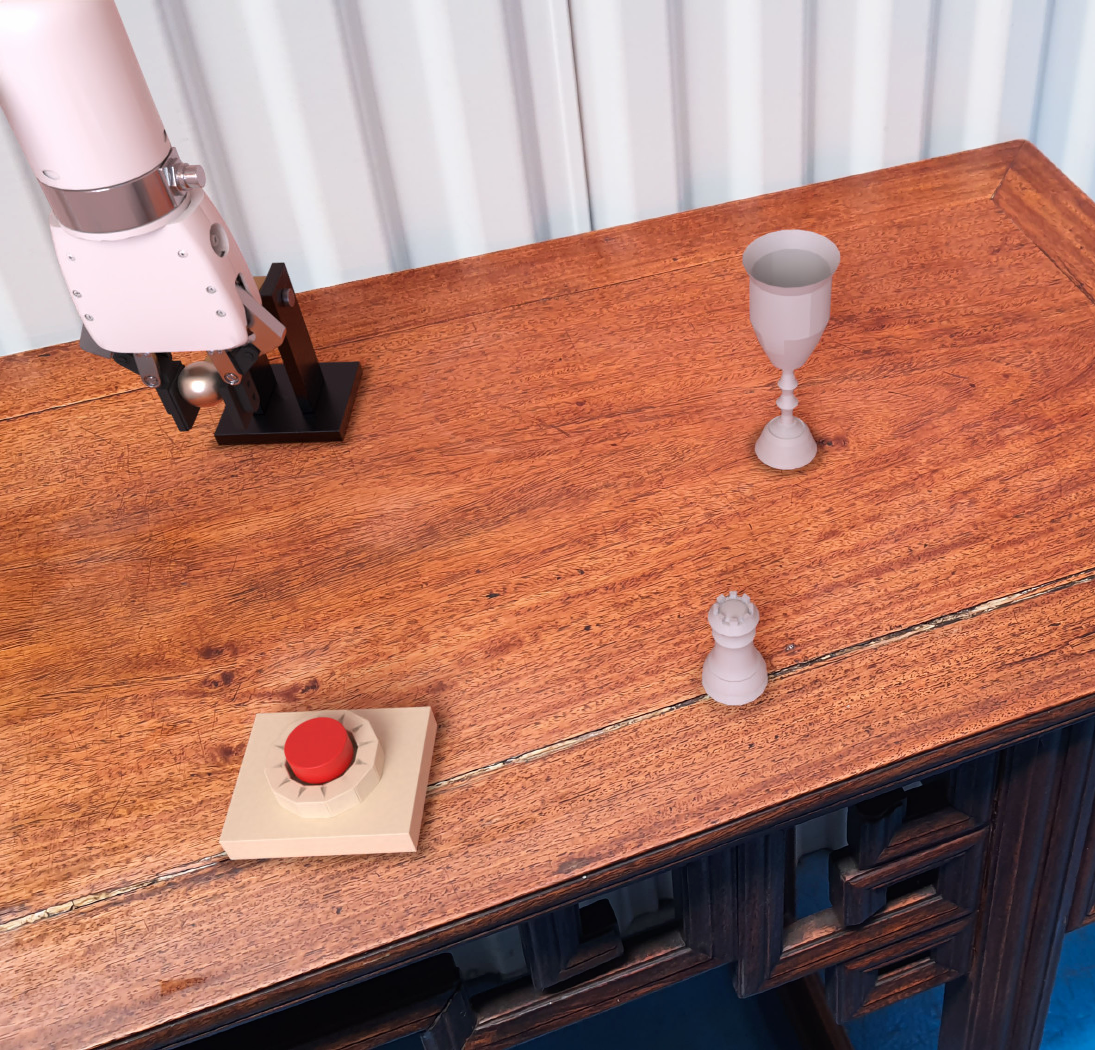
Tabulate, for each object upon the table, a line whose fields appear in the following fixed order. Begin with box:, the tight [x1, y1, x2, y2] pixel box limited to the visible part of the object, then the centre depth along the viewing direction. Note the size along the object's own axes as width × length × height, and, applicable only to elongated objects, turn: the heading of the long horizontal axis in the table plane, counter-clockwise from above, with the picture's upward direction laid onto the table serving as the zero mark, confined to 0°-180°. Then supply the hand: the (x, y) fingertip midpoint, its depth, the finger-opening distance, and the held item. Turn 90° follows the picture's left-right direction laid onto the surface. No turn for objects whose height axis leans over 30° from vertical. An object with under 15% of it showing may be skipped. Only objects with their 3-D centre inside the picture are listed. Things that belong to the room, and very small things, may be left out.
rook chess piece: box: [701, 590, 769, 706], centre depth 75 cm, size 4×4×8 cm
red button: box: [284, 717, 354, 784], centre depth 69 cm, size 4×4×2 cm
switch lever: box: [178, 275, 267, 409], centre depth 85 cm, size 15×3×3 cm, turn 3°
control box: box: [218, 706, 438, 861], centre depth 71 cm, size 11×9×4 cm
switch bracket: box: [213, 262, 364, 446], centre depth 93 cm, size 9×10×13 cm
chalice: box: [741, 229, 841, 471], centre depth 88 cm, size 7×7×18 cm
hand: (218, 415), depth 83 cm, fingers closed on switch lever, 3 cm apart
